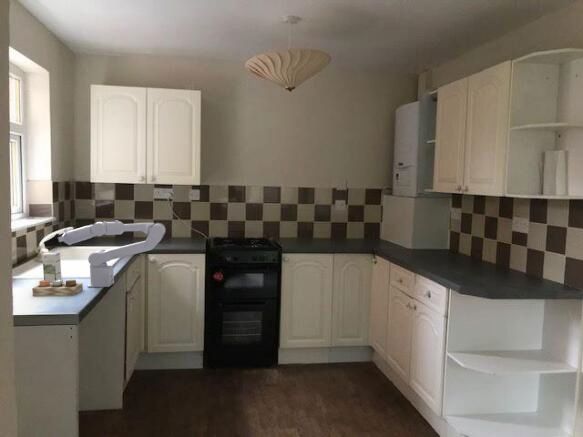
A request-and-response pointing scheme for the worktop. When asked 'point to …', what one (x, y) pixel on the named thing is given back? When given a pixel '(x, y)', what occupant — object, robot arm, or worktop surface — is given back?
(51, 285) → the light wooden flat frame
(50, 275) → the syrup box
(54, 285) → the steel button
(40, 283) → the terracotta button
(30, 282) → the worktop surface
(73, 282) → the walnut button
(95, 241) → the worktop surface
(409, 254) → the worktop surface
